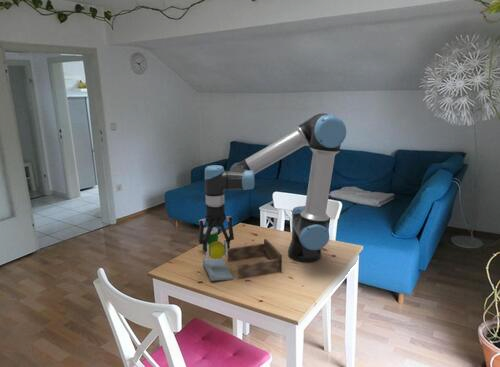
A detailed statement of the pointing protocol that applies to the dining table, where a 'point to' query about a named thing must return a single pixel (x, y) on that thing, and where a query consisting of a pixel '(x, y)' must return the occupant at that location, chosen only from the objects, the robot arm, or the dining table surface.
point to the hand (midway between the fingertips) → (216, 257)
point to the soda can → (211, 235)
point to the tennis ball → (216, 250)
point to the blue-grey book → (217, 269)
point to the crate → (257, 267)
